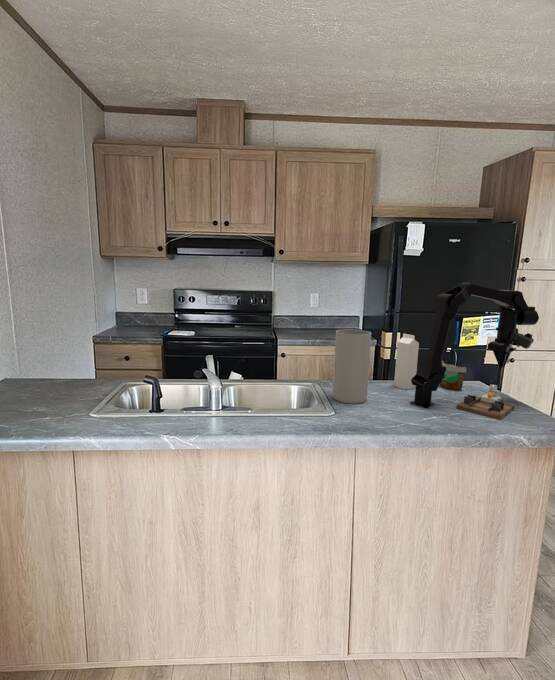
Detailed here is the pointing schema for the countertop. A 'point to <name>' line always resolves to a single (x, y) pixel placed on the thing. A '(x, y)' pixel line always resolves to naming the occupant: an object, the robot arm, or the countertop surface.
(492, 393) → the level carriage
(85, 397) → the countertop surface
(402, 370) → the milk
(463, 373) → the food container
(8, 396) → the countertop surface
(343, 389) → the cylinder vase
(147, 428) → the countertop surface
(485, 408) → the stand
